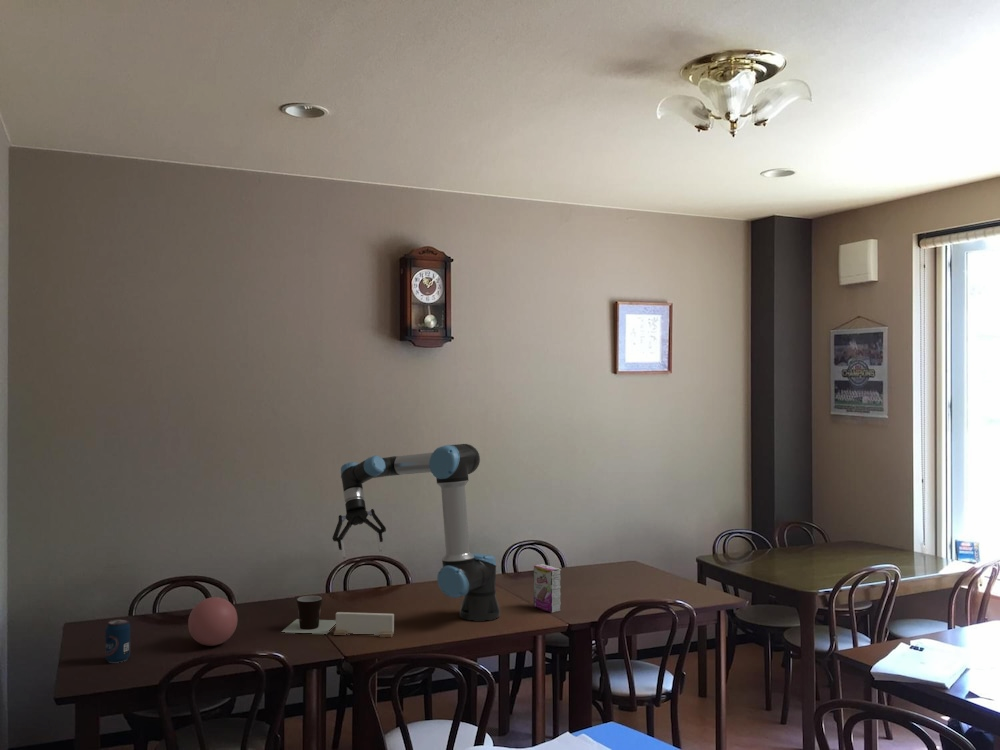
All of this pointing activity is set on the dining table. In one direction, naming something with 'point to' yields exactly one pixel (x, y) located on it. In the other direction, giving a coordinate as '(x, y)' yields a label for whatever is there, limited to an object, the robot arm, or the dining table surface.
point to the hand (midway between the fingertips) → (362, 554)
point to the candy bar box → (547, 588)
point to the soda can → (117, 641)
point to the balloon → (212, 621)
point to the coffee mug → (309, 611)
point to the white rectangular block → (364, 623)
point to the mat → (322, 629)
